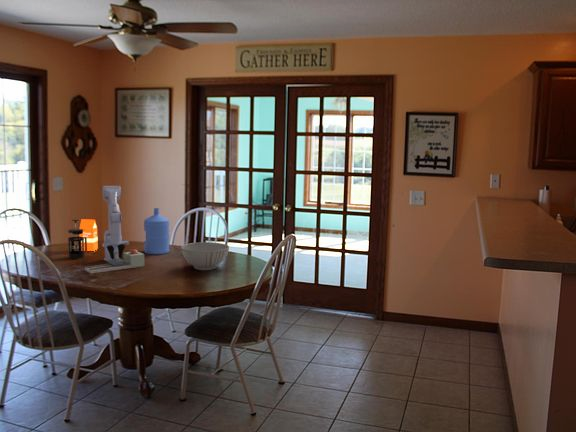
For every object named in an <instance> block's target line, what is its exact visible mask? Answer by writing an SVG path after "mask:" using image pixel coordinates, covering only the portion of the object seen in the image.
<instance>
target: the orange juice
mask: <svg viewBox="0 0 576 432" xmlns="http://www.w3.org/2000/svg"><path fill="white" fill-rule="evenodd" d="M96 222H97V221H96V219H87V218H86V219H83V218H82V219H81V220H80V225H79V228H78V229H84V230H83V234H78V235H79V236H78V237H87V251H94V252H96V251H98V250H97V249H98V248H99V246H98V243H99V241H98V240H99V238H98V226H97V223H96ZM81 246H82V241H81ZM95 250H96V251H95ZM81 251H82V249H81ZM84 251H85V238H84Z"/></svg>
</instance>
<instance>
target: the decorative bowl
mask: <svg viewBox="0 0 576 432" xmlns="http://www.w3.org/2000/svg"><path fill="white" fill-rule="evenodd" d="M180 248H181V249H180V250H181V253H182V255H183V257H184V259H185V260H186V261H187V263H189V264H190V265H191V266H193V269H195V270H197V271H198V270H199V271H210V270H215V269H216V268H217V266H219V265H220V264H221V263H222V262H223V261H224V260H225V259H226V257H227V256H228V253H229V251H230V246H229V245H227V244H225V243H221V242H210V241H209V242H208V241H207V242H202V241H201V242H191V243H185V244H183V245H181V247H180Z"/></svg>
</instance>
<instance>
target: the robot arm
mask: <svg viewBox="0 0 576 432" xmlns="http://www.w3.org/2000/svg"><path fill="white" fill-rule="evenodd" d="M121 189H122V188H121V185H103V186H102V199H103V201H104V202H106V204H107V217H108V218H107V219H108V229H107V230H106V231H104V234H103V242H101V243H102V247H103V248H104V258H103V260H104V261H105V262H108V260H109V259H114V253H115V252H118V253H119V259H122V258H123V257H122V256H123V253H124V250H125V248H126V245H127V246H128V245H130V241H129V240H123V236H122V221H123V220H122V219H123V217H122V216H123V215H122V212H121V210H120V205H119V204H118V201H120V199H121V193H122V190H121Z"/></svg>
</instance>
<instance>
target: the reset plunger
mask: <svg viewBox="0 0 576 432" xmlns="http://www.w3.org/2000/svg"><path fill="white" fill-rule="evenodd" d="M129 252H130V253H131V254H137V252H138V249H135V248H134V249H130V250H129Z"/></svg>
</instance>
